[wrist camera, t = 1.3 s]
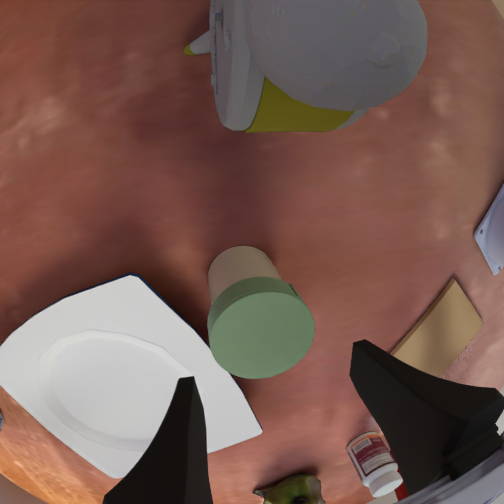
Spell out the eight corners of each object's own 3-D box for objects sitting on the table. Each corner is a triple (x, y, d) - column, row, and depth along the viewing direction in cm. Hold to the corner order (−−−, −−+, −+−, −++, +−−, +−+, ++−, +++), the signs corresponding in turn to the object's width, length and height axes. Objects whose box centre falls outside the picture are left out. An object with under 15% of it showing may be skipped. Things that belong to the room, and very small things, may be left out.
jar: (235, 231, 21) (256, 276, 15) (287, 269, 23) (324, 322, 16) (193, 285, 22) (196, 346, 15) (246, 318, 24) (267, 381, 17)
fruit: (270, 459, 33) (298, 503, 26) (323, 458, 37) (352, 494, 30) (241, 498, 34) (261, 540, 26) (292, 496, 37) (316, 531, 30)
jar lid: (250, 255, 16) (258, 269, 14) (323, 306, 18) (336, 323, 16) (187, 332, 17) (188, 352, 15) (262, 371, 19) (269, 391, 17)
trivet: (451, 277, 27) (455, 280, 26) (480, 321, 30) (483, 323, 30) (381, 361, 28) (383, 365, 28) (423, 388, 32) (425, 391, 32)
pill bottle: (370, 448, 35) (395, 491, 27) (341, 455, 34) (364, 503, 26) (383, 427, 34) (412, 473, 26) (352, 434, 33) (379, 485, 25)
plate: (-16, 345, 20) (-28, 361, 18) (145, 238, 20) (139, 252, 18) (115, 466, 28) (113, 483, 26) (271, 413, 28) (277, 433, 26)
